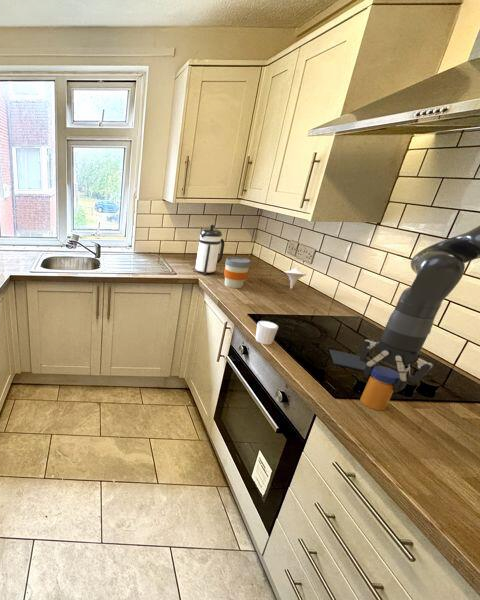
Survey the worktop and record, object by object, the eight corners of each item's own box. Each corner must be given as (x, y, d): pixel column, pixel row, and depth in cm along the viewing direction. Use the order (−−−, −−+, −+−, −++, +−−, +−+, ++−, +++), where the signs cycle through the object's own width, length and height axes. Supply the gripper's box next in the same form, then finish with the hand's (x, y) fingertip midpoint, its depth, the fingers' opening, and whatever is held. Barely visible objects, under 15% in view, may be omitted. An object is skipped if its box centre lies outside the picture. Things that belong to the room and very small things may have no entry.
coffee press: (218, 277, 191) (227, 227, 180) (190, 273, 198) (198, 225, 186) (219, 270, 206) (228, 223, 195) (194, 266, 212) (201, 221, 201)
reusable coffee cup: (234, 281, 185) (239, 256, 180) (250, 288, 174) (256, 261, 169) (216, 282, 182) (221, 257, 177) (231, 290, 171) (236, 263, 165)
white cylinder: (273, 347, 116) (278, 330, 113) (252, 342, 119) (256, 325, 116) (274, 339, 121) (279, 323, 118) (254, 334, 124) (258, 318, 122)
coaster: (329, 350, 114) (329, 349, 114) (364, 358, 109) (365, 356, 109) (333, 364, 106) (334, 363, 105) (372, 373, 101) (372, 371, 101)
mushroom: (278, 284, 180) (283, 264, 175) (300, 287, 176) (306, 266, 171) (281, 290, 171) (286, 269, 167) (304, 293, 167) (310, 271, 163)
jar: (375, 397, 90) (388, 369, 86) (390, 410, 85) (405, 382, 81) (355, 396, 90) (367, 368, 87) (369, 409, 86) (383, 380, 82)
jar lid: (371, 368, 88) (374, 363, 87) (399, 377, 84) (402, 371, 84) (369, 377, 84) (371, 371, 84) (398, 387, 81) (401, 381, 80)
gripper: (364, 320, 83) (343, 373, 89) (441, 345, 71) (410, 404, 78) (378, 314, 86) (357, 366, 93) (454, 338, 74) (423, 395, 81)
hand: (381, 383), depth 85 cm, fingers closed on jar lid, 5 cm apart
